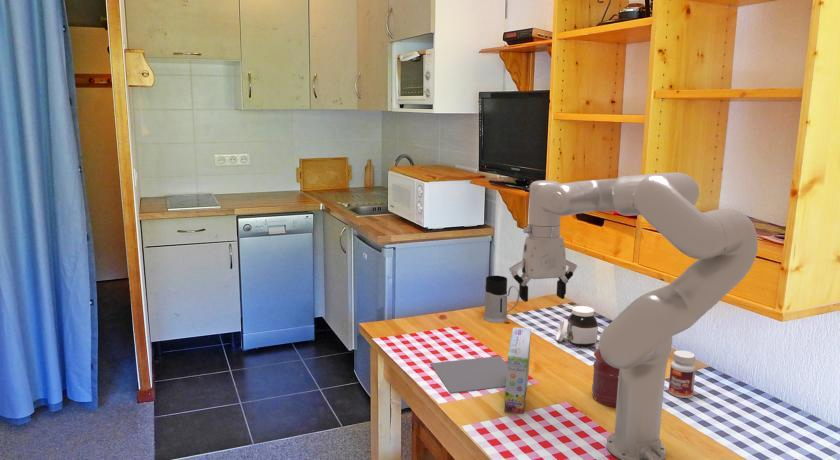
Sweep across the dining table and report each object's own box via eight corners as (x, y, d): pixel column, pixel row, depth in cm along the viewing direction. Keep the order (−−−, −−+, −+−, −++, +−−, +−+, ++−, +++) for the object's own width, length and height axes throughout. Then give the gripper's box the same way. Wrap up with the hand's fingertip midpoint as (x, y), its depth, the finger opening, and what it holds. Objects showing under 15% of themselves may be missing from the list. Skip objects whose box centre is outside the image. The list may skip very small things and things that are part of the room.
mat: (526, 384, 175) (526, 383, 175) (450, 393, 170) (450, 392, 170) (499, 357, 194) (499, 356, 194) (430, 364, 189) (430, 363, 189)
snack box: (525, 414, 158) (528, 358, 155) (503, 412, 159) (505, 356, 156) (529, 377, 179) (531, 327, 175) (508, 375, 180) (511, 325, 176)
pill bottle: (667, 396, 169) (671, 356, 166) (669, 386, 174) (672, 348, 172) (692, 400, 166) (696, 360, 164) (693, 391, 172) (697, 351, 170)
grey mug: (493, 312, 235) (494, 273, 232) (525, 322, 225) (526, 281, 222) (478, 318, 228) (479, 278, 225) (510, 328, 219) (512, 286, 216)
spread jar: (600, 348, 202) (602, 313, 199) (568, 351, 199) (570, 316, 196) (580, 334, 213) (582, 301, 211) (550, 338, 210) (551, 304, 207)
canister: (586, 386, 174) (589, 325, 171) (633, 387, 174) (638, 325, 171) (598, 409, 161) (603, 343, 158) (650, 409, 161) (655, 344, 158)
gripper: (516, 236, 150) (514, 305, 153) (584, 232, 153) (581, 300, 156) (505, 230, 157) (504, 297, 160) (570, 227, 160) (568, 292, 164)
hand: (542, 298), depth 158 cm, fingers open, 9 cm apart
